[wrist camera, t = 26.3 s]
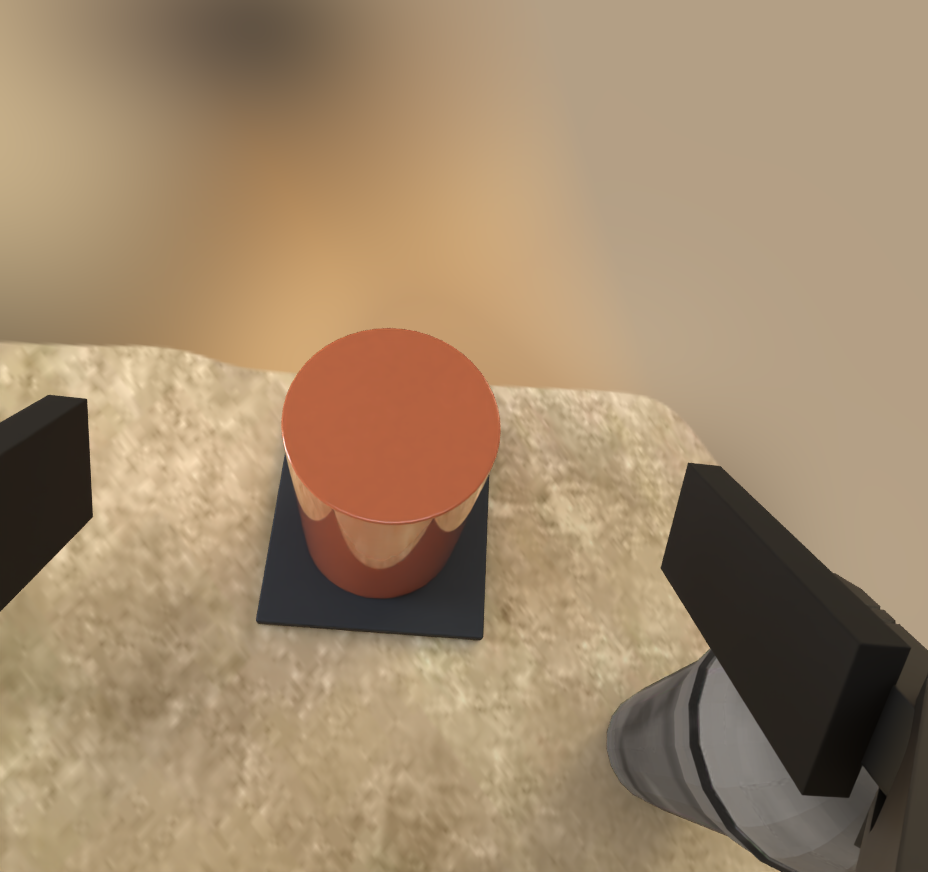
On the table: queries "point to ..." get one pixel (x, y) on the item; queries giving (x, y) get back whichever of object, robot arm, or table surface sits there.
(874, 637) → the robot arm
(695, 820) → the beverage cup
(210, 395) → the table surface
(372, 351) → the terracotta cylinder
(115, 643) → the table surface
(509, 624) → the table surface
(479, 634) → the mat
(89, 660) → the table surface
